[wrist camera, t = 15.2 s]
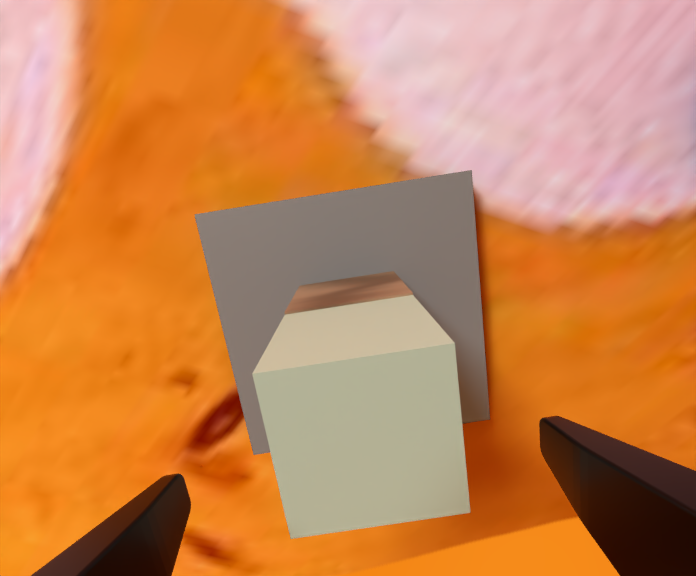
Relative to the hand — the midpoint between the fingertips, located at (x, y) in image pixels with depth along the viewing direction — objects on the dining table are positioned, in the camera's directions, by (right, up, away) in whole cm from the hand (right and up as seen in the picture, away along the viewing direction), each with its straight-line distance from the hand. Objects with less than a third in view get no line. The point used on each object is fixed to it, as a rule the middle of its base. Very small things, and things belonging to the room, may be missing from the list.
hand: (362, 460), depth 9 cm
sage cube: (0, +1, +5) cm, 5 cm away
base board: (0, +3, +12) cm, 12 cm away
